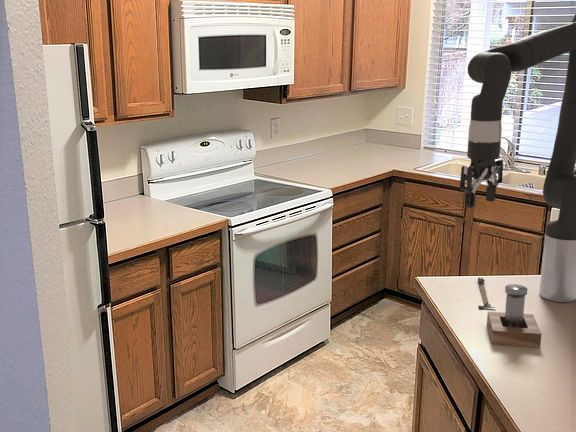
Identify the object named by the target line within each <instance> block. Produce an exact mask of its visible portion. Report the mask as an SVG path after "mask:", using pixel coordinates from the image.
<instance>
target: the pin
mask: <svg viewBox="0 0 576 432" xmlns="http://www.w3.org/2000/svg"><path fill="white" fill-rule="evenodd" d="M504 292H505V294H506V297H505V308H504V313H505V322H504V327H515V328H522V326H523V315H524V314H525V312H524V311H525V301H526V296H527V294H528V287H527V286H524V285H521V284H516V283H514V284H513V283H512V284H507V285H505V287H504Z"/></svg>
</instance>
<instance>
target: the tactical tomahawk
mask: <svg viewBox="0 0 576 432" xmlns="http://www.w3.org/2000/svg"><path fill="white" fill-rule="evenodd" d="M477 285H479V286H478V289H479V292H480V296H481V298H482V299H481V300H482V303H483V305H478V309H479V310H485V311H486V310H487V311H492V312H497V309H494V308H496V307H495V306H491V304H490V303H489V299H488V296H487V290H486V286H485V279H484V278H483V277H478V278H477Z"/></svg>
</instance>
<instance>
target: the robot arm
mask: <svg viewBox="0 0 576 432" xmlns="http://www.w3.org/2000/svg"><path fill="white" fill-rule="evenodd" d="M566 53H568V64H567V69H566V78H565V83H564V84H565V85H564V90H563V95H562V99H561V104H560V111H559V118H558V124H557V129H556V134H555V139H554V146H553V148H552V153H551V158H550V162H549V163H548V164H549V165H548V167H547V171H546V174H545V178H544V182H543V186H542V187H543V189H542V197H543V199H544V200H543V201H545V203H546V204H547V205H549V206H551V207H554V208H557V209H558V210H559V214H558V219H557V220H552V221H551V220H550V221H548V222H547V223H546V225H545V231H544V243H543V254H542V263H541V274H540V283H539V284H540V285H539V291H538V292H539V293H538V294H539V296H540V297H542V298H543V299H545V300H547V301H551V302H557V303H571V302H574V301H576V175H574V174H575V166H576V12H575V13H574V15H573V19H572V21H571V23H569V24H566V25H561V26H558V27H554V28H551V29H550V28H549V29H547V30H542V31H539V32H536V33H533V34H530V35H528V36H525V37H523V38H520V39H518V40H515V41H513V42H512V43H511V42H510V43H509V44H505V45H502V46H498V47H494V48H489V49H487V50H483V51H481V52H478V53H477V54H475V55H474V56H473V57H472V58H471V59H470V61H469V63H468V64H467V75H468V76H469V77H470V79H471V80H472V81H474V82H476V83H478V84H482V85H481V89H480V93H479V94H476V95H474V96H473V98H472V99H471V103H470V104H471V105H470V120H469V127H468V135H467V136H468V137H467V139H468V140H467V151H466V152H467V153H466V155H467V157H468V159H470V164H469V165H461V170H460V179H459V181H460V182H459V190H460V191H464V192H465V198H464V203H465V207H466V208H468V209H469V208H470V209H474V208H475V205H476V191H477V188H478V187H479V186H481V184H482V182H485V184H486V189H485V190H486V191H485V200H486V201H487V202H491V203H492V202H495V200H496V193H497V188H498V186H499V184H502V183H503V177H504V176H503V173H504V172H503V171H504V160H503V159H500V156H501V146H502V144H501V143H502V130H503V128H502V126H503V125H502V113H503V102H504V99H505V97H506V93H507V91H508V88H509V85H510V80H511V76H512V72H513V73H514V72H521V71H525V70H527V69H530V68H532V67H535V66H537V65H539V64H541V63H545V62H547V61H549V60H551V59H554V58H556V57H559V56H561V55H564V54H566ZM497 175H498V176H497ZM465 183H466V184H465Z"/></svg>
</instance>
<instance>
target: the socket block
mask: <svg viewBox="0 0 576 432" xmlns="http://www.w3.org/2000/svg"><path fill="white" fill-rule="evenodd" d="M486 315H487V316H486V317H487V318H486V327H487V331H488V334H489V338H490V343H491V345H492V346H508V347H519V346H522V347H521V348H523V347H524V348H534V349H536V348H537V349H540V348H541V341H542V334H543V333H542V331H541V330H540V326H539V325H538V323H537V320H536V318H535V316H534V314H532V313H524V315H523V326H522V328H515V327H504V322H505V312H499V311H487V314H486Z"/></svg>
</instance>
